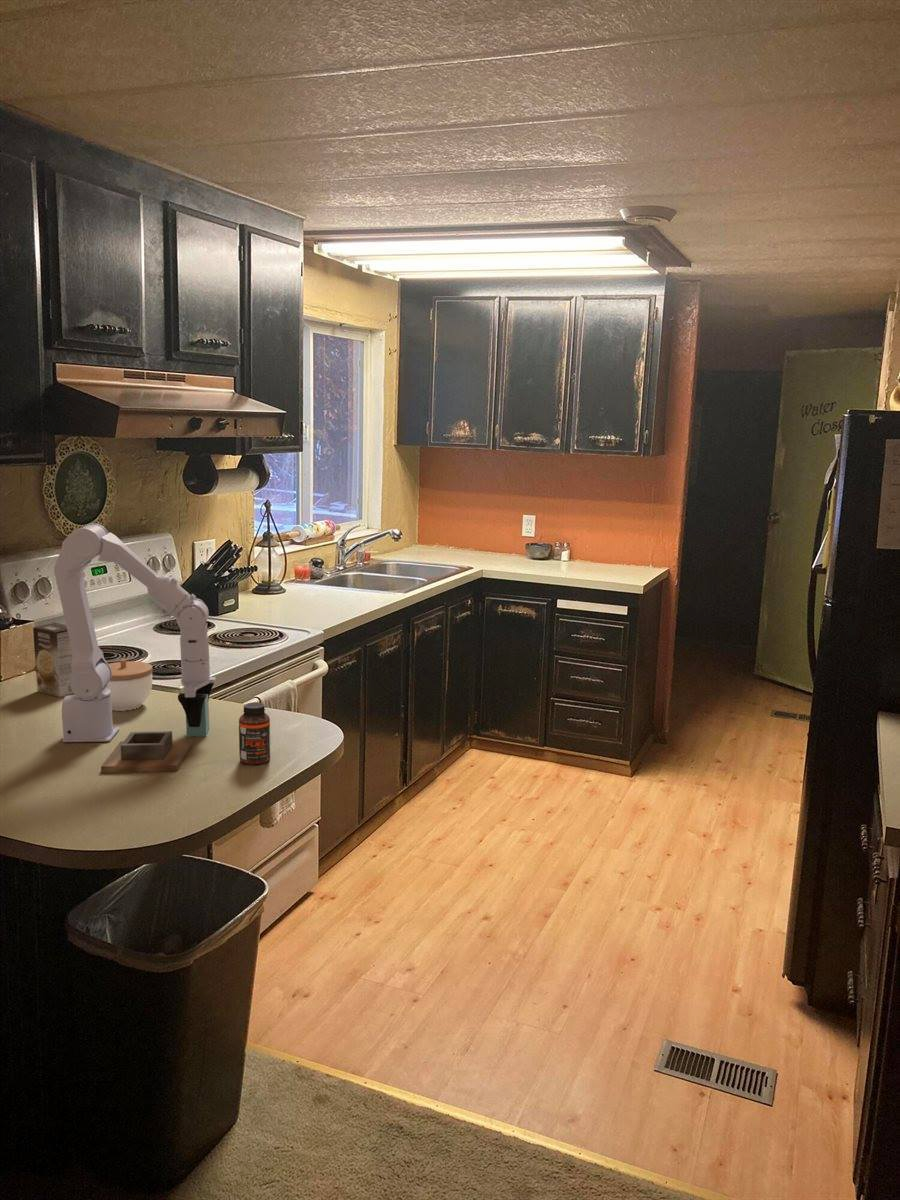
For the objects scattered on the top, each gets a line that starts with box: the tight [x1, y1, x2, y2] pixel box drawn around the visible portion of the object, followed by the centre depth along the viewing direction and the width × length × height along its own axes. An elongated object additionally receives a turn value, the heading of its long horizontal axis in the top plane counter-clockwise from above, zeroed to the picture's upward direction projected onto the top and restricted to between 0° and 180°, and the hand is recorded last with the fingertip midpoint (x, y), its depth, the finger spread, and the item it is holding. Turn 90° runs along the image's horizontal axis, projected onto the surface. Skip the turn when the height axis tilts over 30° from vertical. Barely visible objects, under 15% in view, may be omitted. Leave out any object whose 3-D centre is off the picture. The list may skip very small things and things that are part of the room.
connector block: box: [185, 694, 210, 737], centre depth 202 cm, size 4×4×8 cm
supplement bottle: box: [238, 701, 271, 766], centre depth 187 cm, size 6×6×11 cm
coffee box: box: [32, 622, 74, 698], centre depth 231 cm, size 9×6×16 cm
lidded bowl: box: [107, 658, 153, 712], centre depth 220 cm, size 13×13×11 cm
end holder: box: [100, 730, 192, 773], centre depth 188 cm, size 14×14×4 cm
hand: (197, 720), depth 203 cm, fingers open, 7 cm apart
